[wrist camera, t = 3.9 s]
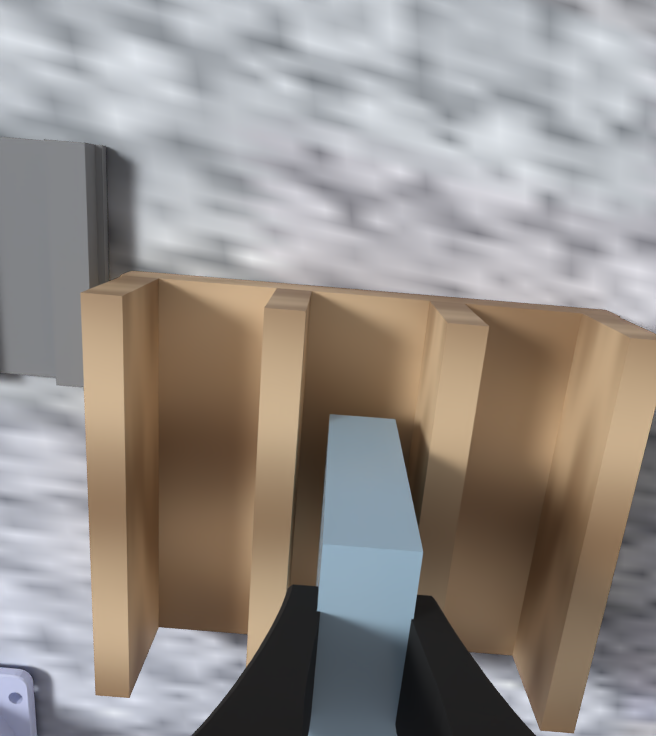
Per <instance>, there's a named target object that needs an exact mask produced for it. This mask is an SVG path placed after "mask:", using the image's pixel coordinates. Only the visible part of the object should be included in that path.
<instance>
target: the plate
mask: <svg viewBox="0 0 656 736" xmlns="http://www.w3.org/2000/svg"><path fill="white" fill-rule="evenodd" d="M422 557H423V548H422V544H421V539H420V534H419V529H418V525H417V520H416V515H415V510H414V506H413V501H412V496H411V491H410V486H409V482H408V477H407V472H406V467H405V463H404V458H403V453H402V448H401V444H400V439H399V434H398V429H397V425H396V420H395V419H387V418H374V417H361V416H348V415H335V414H330V416H329V429H328V441H327V453H326V466H325V478H324V491H323V503H322V515H321V528H320V540H319V553H318V565H317V578H316V586H318V603H317V611H320V621H319V632H318V644H317V655H316V666H315V678H314V689H313V700H312V712H311V721H310V727H309V734H308V736H397V733H396V726H395V722H396V716H397V709H398V703H399V696H400V690H401V683H402V677H403V670H404V664H405V657H406V651H407V644H408V638H409V631H410V625H411V619H414V612H415V605H416V598H417V591H418V585H419V578H420V571H421V564H422Z"/></svg>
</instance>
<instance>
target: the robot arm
mask: <svg viewBox="0 0 656 736" xmlns="http://www.w3.org/2000/svg"><path fill="white" fill-rule="evenodd" d="M317 603H318V586H307V585H294V584H293V585H292V586H290V587H289V588H287V592H286V595H285V598H284V601H283V603H282V606H281V608H280V610H279V612H278V614H277V616H276V618H275V620H274V622H273V624H272V626H271V628H270V630H269V631H268V633H267V635H266V637H265V638H264V640H263V642H262V643H261V645H260V647H259V649H258V650H257V652H256V653H255V655H254V657H253V658H252V660H251V661H250V663H249V664H248V665H247V667H246V668H245V670H244V671H243V673H242V674H241V676H240V677H239V679H238V680H237V682H236V683H235V684H234V686H233V687H232V688H231V690H230V691H229V692H228V694H227V695H226V696H225V697H224V699H223V700H222V701H221V703H220V704H219V705H218V706H217V707H216V709H215V710H214V711H213V712H212V713H211V715H210V716H209V717H208V718H207V719H206V720H205V722H204V723H203V724H202V725H201V726H200V727H199V728H198V729H197V730H196V731H195V732H194V734H193V735H192V736H308V734H309V727H310V721H311V712H312V700H313V689H314V678H315V666H316V655H317V644H318V632H319V621H320V611H317ZM17 693H19V694H20V695H19V694H17ZM395 726H396V733H397V736H536V735H535V734H534V733H533V732H532V731H531V730H530V729H529V728H528V727H527V726H526V725H525V723H524V722H523V721H522V720H521V719H520V718H519V717H518V715H517V714H516V713H515V712H514V711H513V709H512V708H511V707H510V706H509V705H508V703H507V702H506V701H505V700H504V698H503V697H502V696H501V695H500V693H499V692H498V691H497V690H496V688H495V687H494V686H493V684H492V683H491V682H490V681H489V679H488V678H487V677H486V675H485V674H484V672H483V671H482V670H481V668H480V667H479V666H478V664H477V663H476V661H475V660H474V659H473V657H472V656H471V654H470V653H469V652H468V650H467V649H466V647H465V646H464V644H463V643H462V641H461V640H460V638H459V637H458V635H457V634H456V632H455V631H454V629H453V628H452V626H451V624H450V623H449V621H448V620H447V618H446V616H445V615H444V613H443V612H442V610H441V608H440V607H439V605H438V603H437V602H436V600H435V599H434V598H433V597H432V596H429V595H417V598H416V605H415V612H414V619H411V625H410V631H409V638H408V644H407V651H406V657H405V664H404V670H403V677H402V683H401V690H400V696H399V703H398V709H397V716H396V722H395ZM0 736H37V728H36V714H35V701H34V687H33V679H32V676H31V675H30V674H29V673H28V672H27V671H25V670H22V669H14V668H1V667H0Z"/></svg>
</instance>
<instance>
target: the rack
mask: <svg viewBox="0 0 656 736" xmlns="http://www.w3.org/2000/svg"><path fill="white" fill-rule="evenodd" d="M80 296H81V322H82V349H83V375H84V402H85V428H86V454H87V481H88V507H89V534H90V560H91V587H92V613H93V639H94V666H95V692H96V695H100V696H112V697H125V698H130V695H131V693H132V690H133V688H134V686H135V683H136V681H137V678H138V676H139V673H140V671H141V669H142V666H143V664H144V661H145V659H146V657H147V654H148V652H149V649H150V647H151V645H152V642H153V640H154V637H155V635H156V632H157V630H158V628H159V627H164V628H176V629H189V630H201V631H214V632H226V633H239V634H248V640H247V660H246V667H247V665H248V664H249V663H250V661H251V660H252V658H253V657H254V655H255V653H256V652H257V650H258V649H259V647H260V645H261V643H262V642H263V640H264V638H265V637H266V635H267V633H268V631H269V630H270V628H271V626H272V624H273V622H274V620H275V618H276V616H277V614H278V612H279V610H280V608H281V606H282V603H283V601H284V598H285V595H286V592H287V588H289V587H290V586H292V585H293V584H294V585H307V586H316V578H317V565H318V553H319V540H320V528H321V515H322V503H323V491H324V478H325V466H326V453H327V441H328V429H329V416H330V414H335V415H348V416H361V417H374V418H387V419H395V420H396V425H397V429H398V434H399V439H400V444H401V448H402V453H403V458H404V463H405V467H406V472H407V477H408V482H409V486H410V491H411V496H412V501H413V506H414V510H415V515H416V520H417V525H418V529H419V534H420V539H421V544H422V548H423V557H422V564H421V571H420V578H419V585H418V591H417V595H429V596H432V597H433V598H434V599H435V600H436V602H437V603H438V605H439V607H440V608H441V610H442V612H443V613H444V615H445V616H446V618H447V620H448V621H449V623H450V624H451V626H452V628H453V629H454V631H455V632H456V634H457V635H458V637H459V638H460V640H461V641H462V643H463V644H464V646H465V647H466V649H467V650H468V652H476V653H488V654H501V655H512V656H513V658H514V661H515V664H516V666H517V669H518V672H519V675H520V677H521V680H522V683H523V685H524V688H525V691H526V693H527V696H528V699H529V702H530V704H531V707H532V710H533V712H534V715H535V718H536V720H537V723H538V726H539V729H540V731H552V732H564V733H574V730H575V726H576V722H577V718H578V714H579V711H580V707H581V703H582V699H583V695H584V691H585V687H586V683H587V679H588V675H589V671H590V667H591V663H592V659H593V655H594V651H595V647H596V643H597V639H598V635H599V631H600V627H601V623H602V619H603V615H604V611H605V607H606V603H607V599H608V595H609V591H610V587H611V583H612V579H613V575H614V571H615V567H616V563H617V559H618V555H619V551H620V547H621V543H622V539H623V535H624V531H625V527H626V523H627V519H628V515H629V511H630V507H631V503H632V499H633V495H634V491H635V487H636V483H637V479H638V475H639V471H640V467H641V463H642V459H643V455H644V451H645V447H646V443H647V439H648V435H649V431H650V427H651V423H652V419H653V415H654V411H655V407H656V334H655V333H652V332H650V331H648V330H646V329H644V328H641V327H639V326H637V325H635V324H633V323H630V322H628V321H626V320H624V319H622V318H620V316H618V315H616V314H614V313H611V312H609V311H607V310H601V309H589V308H577V307H565V306H553V305H541V304H528V303H516V302H504V301H492V300H480V299H468V298H456V297H444V296H432V295H420V294H408V293H395V292H383V291H371V290H359V289H347V288H335V287H323V286H311V285H299V284H287V283H275V282H263V281H250V280H238V279H226V278H214V277H202V276H190V275H178V274H166V273H154V272H142V271H130V272H127V273H125V274H122V275H120V277H119V278H116V279H114V280H111V281H108V282H106V283H103V284H101V285H98V286H96V287H93V288H91V289H88V290H86V291H83V292H81V293H80Z"/></svg>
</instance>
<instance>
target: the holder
mask: <svg viewBox="0 0 656 736" xmlns="http://www.w3.org/2000/svg"><path fill="white" fill-rule="evenodd" d="M108 281H109V259H108V217H107V176H106V146H103V145H94V144H88V143H81V142H69V141H57V140H45V139H44V140H33V139H21V138H9V137H0V373H8V374H21V375H33V376H45V377H56V385H60V386H72V387H84V375H83V349H82V322H81V296H80V293H81V292H83V291H86V290H88V289H91V288H93V287H96V286H98V285H101V284H103V283H106V282H108Z"/></svg>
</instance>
